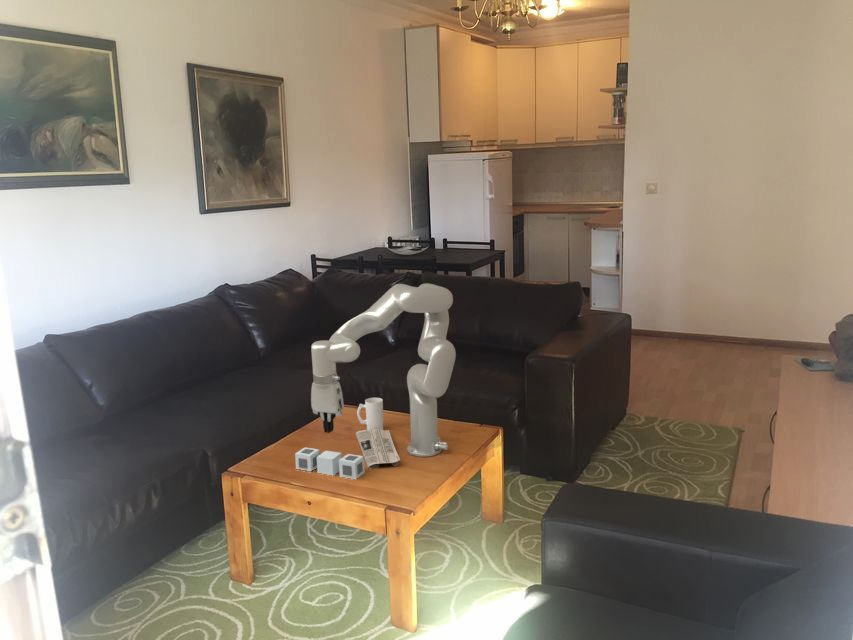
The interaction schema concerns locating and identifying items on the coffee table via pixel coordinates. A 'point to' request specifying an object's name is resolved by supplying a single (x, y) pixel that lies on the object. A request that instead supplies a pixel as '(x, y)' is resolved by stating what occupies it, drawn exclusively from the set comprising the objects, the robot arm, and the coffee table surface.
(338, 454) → the plain block
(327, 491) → the coffee table surface
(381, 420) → the mug
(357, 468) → the marked block near
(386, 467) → the coffee table surface
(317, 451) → the marked block far
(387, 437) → the newspaper
